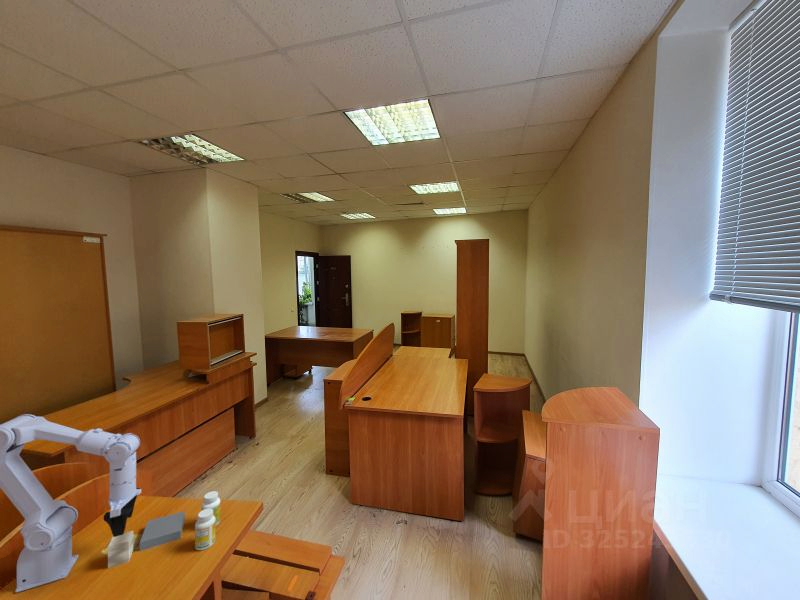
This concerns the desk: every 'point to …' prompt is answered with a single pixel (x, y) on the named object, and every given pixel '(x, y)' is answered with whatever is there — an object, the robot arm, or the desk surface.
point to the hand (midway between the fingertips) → (123, 525)
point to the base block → (162, 530)
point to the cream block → (120, 549)
